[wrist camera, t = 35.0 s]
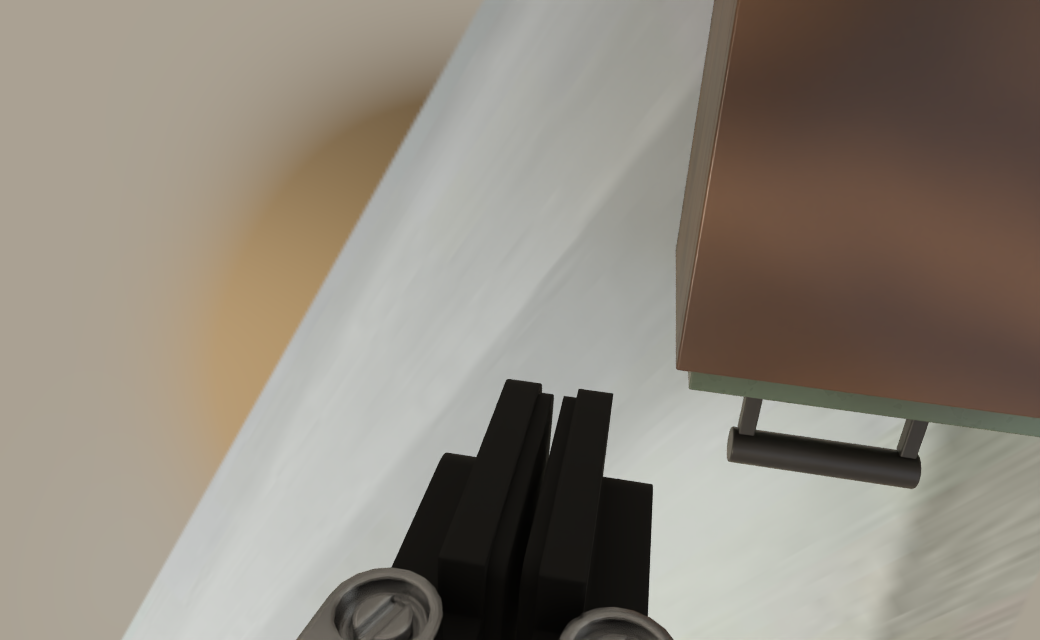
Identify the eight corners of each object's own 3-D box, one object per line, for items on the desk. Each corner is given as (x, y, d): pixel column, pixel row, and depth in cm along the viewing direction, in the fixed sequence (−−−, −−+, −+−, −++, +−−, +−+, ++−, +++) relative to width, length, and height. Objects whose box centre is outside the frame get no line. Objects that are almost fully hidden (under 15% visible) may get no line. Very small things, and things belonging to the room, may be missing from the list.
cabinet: (980, 285, 33) (1106, 428, 23) (675, 251, 34) (675, 370, 25) (1133, -149, 26) (1407, -202, 16) (739, -165, 27) (774, -221, 18)
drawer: (930, 416, 35) (1005, 555, 27) (669, 381, 36) (668, 503, 28) (1100, -69, 26) (1284, -74, 18) (746, -88, 27) (774, -100, 20)
